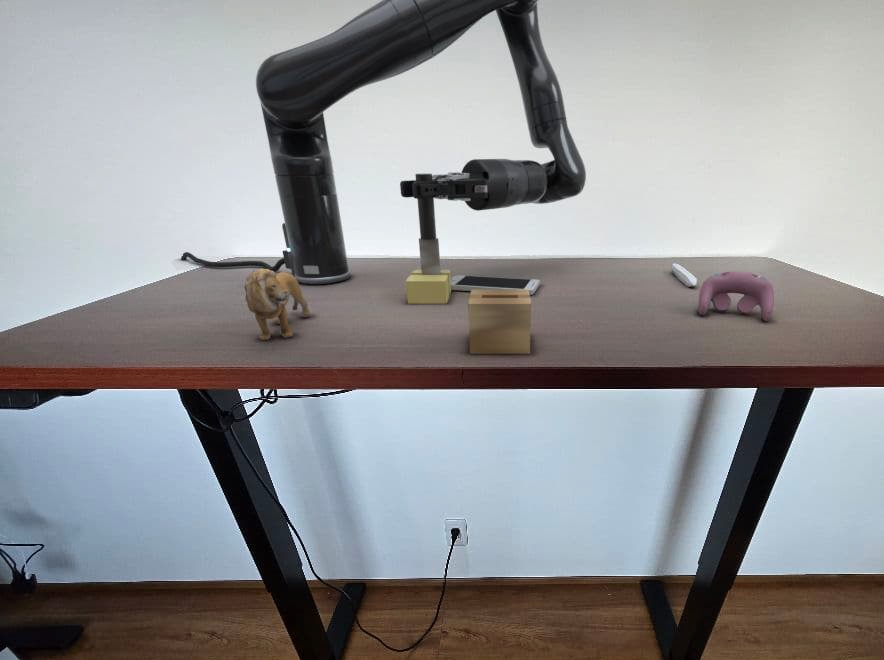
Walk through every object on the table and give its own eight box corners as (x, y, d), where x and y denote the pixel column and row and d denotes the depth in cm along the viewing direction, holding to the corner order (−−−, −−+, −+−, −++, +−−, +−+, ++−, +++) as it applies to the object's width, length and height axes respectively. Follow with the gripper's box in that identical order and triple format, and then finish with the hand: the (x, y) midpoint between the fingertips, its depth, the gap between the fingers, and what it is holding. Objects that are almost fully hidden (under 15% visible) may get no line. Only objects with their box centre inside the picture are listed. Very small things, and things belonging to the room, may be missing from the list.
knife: (422, 291, 77) (411, 174, 69) (424, 288, 79) (414, 173, 71) (440, 291, 77) (432, 174, 69) (442, 287, 79) (435, 173, 71)
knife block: (470, 353, 56) (468, 303, 53) (473, 336, 61) (471, 289, 58) (529, 353, 56) (531, 303, 53) (527, 336, 61) (528, 289, 58)
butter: (407, 303, 74) (405, 281, 72) (415, 291, 80) (413, 270, 79) (446, 303, 74) (445, 281, 72) (451, 291, 81) (450, 270, 79)
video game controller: (766, 325, 70) (774, 277, 69) (773, 320, 65) (782, 269, 65) (694, 318, 72) (702, 272, 72) (697, 313, 68) (705, 264, 68)
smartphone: (456, 279, 87) (455, 274, 87) (539, 284, 84) (540, 279, 84) (442, 289, 81) (442, 284, 80) (532, 295, 78) (532, 289, 77)
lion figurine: (298, 347, 58) (282, 271, 53) (250, 350, 57) (230, 274, 52) (313, 311, 70) (301, 248, 66) (274, 313, 69) (259, 249, 65)
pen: (675, 270, 94) (677, 262, 94) (698, 289, 82) (699, 279, 81) (667, 270, 94) (669, 261, 94) (688, 288, 82) (690, 279, 81)
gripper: (466, 158, 82) (378, 159, 71) (525, 159, 73) (435, 161, 63) (468, 205, 86) (384, 213, 75) (525, 212, 77) (439, 222, 66)
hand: (408, 189), depth 69 cm, fingers closed on knife, 2 cm apart
